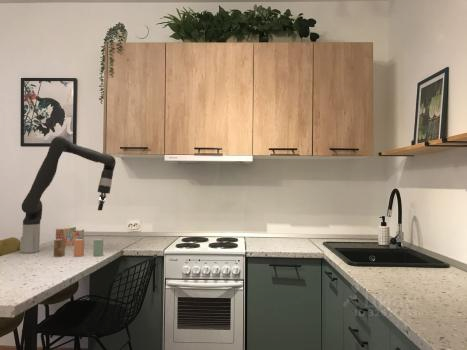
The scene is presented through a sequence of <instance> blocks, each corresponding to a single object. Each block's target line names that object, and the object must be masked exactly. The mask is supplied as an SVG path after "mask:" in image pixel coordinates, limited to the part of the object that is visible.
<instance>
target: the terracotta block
mask: <svg viewBox="0 0 467 350" xmlns="http://www.w3.org/2000/svg"><path fill="white" fill-rule="evenodd" d="M84 255H85V238H84V239H76V240H74V245H73V258H76V257H78V258H79V257H83V256H84Z"/></svg>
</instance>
